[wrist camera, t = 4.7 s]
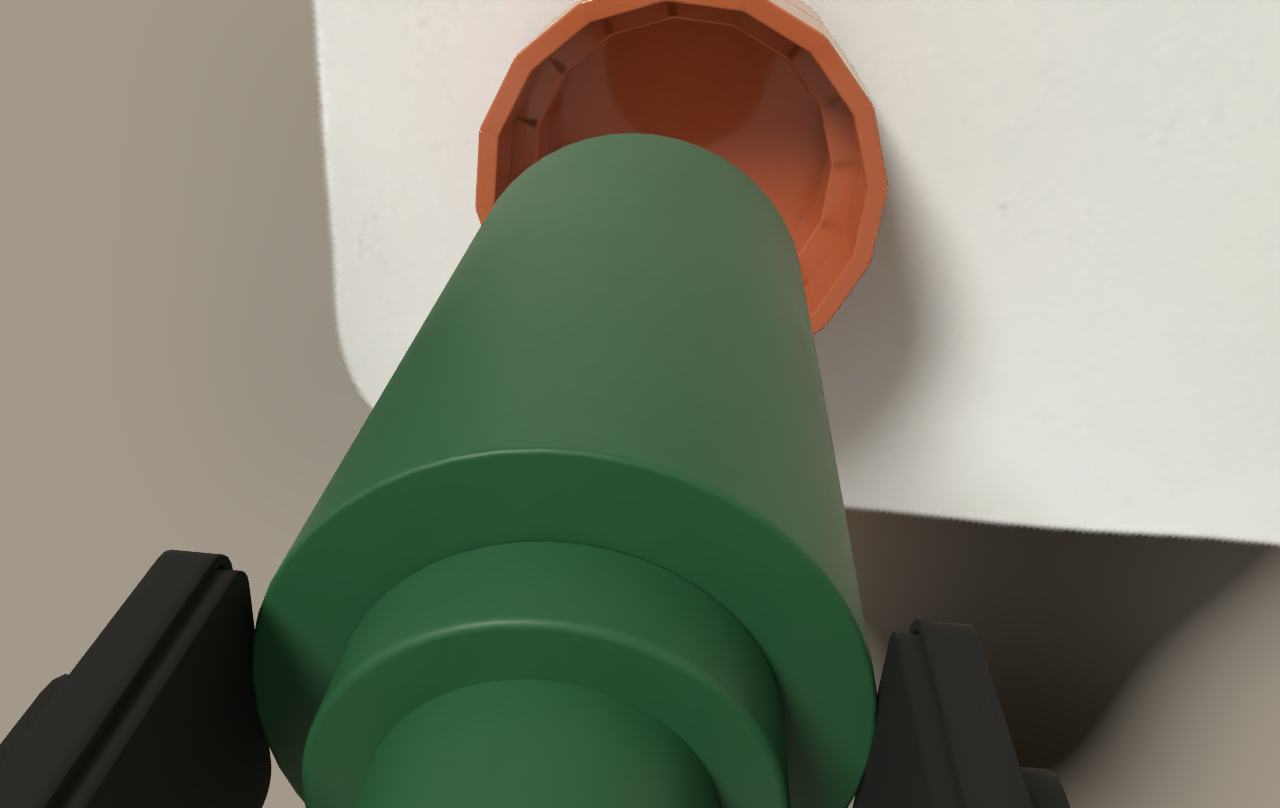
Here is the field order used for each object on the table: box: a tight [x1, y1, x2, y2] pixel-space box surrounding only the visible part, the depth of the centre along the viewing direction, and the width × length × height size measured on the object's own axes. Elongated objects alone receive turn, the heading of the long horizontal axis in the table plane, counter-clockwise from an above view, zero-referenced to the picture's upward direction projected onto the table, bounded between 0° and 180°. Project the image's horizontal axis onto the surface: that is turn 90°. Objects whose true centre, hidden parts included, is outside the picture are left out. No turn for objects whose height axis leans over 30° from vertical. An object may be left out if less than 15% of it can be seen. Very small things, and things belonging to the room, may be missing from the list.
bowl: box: [475, 0, 888, 335], centre depth 29 cm, size 10×10×5 cm
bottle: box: [252, 133, 877, 808], centre depth 14 cm, size 6×6×16 cm
